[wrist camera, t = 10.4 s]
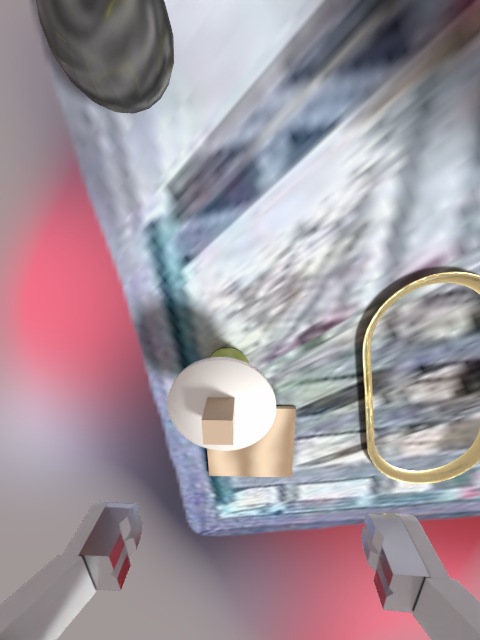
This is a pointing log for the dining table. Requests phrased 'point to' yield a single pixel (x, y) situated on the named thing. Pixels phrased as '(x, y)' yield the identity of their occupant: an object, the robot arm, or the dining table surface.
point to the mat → (260, 452)
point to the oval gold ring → (455, 468)
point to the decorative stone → (112, 48)
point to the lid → (222, 404)
